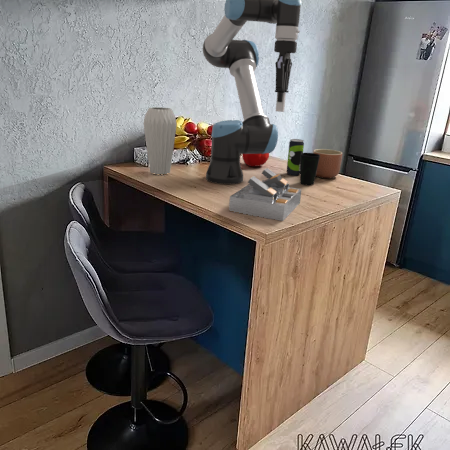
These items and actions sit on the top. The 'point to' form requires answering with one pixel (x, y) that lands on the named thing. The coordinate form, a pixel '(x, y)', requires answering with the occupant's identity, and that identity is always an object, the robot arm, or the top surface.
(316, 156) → the cup
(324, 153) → the planter
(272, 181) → the switch
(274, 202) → the switch unit
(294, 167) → the beverage can
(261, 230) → the top surface
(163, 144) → the vase
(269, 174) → the switch
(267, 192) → the switch
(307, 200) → the top surface
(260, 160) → the tomato
